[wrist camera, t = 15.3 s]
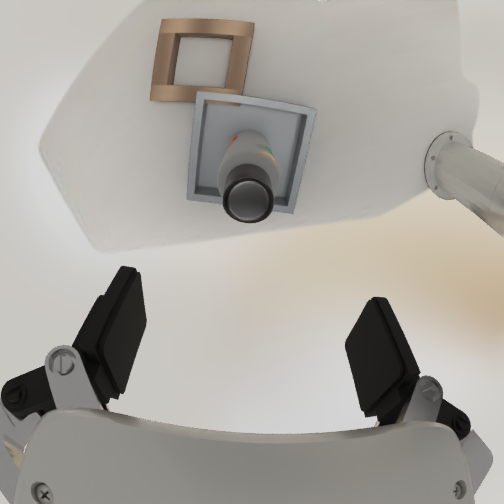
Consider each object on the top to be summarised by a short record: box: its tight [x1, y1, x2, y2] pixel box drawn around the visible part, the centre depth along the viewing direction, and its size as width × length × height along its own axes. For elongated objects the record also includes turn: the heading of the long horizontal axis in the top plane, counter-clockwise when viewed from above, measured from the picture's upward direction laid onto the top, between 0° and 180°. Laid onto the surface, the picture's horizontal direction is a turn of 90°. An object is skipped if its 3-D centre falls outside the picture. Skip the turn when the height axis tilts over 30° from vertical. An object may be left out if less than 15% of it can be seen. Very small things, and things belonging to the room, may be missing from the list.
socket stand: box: [150, 19, 255, 107], centre depth 29 cm, size 12×12×3 cm
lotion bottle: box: [217, 130, 280, 223], centre depth 28 cm, size 6×6×20 cm
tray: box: [187, 91, 317, 214], centre depth 36 cm, size 15×15×4 cm
